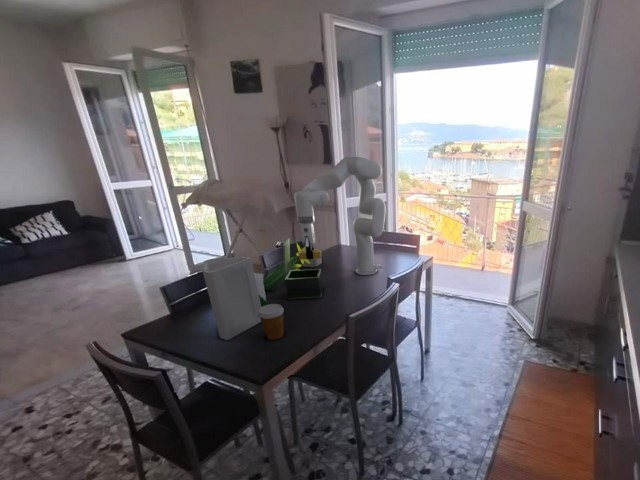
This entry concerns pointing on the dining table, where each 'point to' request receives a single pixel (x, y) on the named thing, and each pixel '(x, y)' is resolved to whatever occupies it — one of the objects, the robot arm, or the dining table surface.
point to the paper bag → (232, 294)
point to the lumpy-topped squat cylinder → (312, 262)
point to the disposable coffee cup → (272, 320)
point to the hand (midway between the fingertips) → (310, 257)
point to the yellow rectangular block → (315, 254)
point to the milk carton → (261, 289)
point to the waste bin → (304, 284)
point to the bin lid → (285, 255)
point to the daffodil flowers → (282, 271)
